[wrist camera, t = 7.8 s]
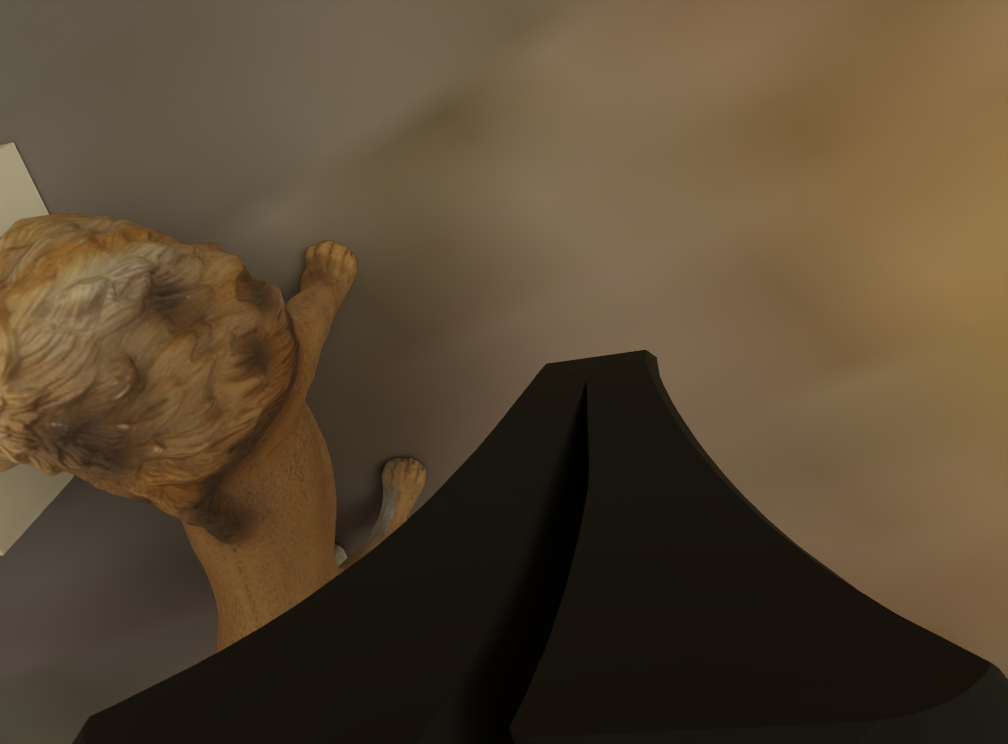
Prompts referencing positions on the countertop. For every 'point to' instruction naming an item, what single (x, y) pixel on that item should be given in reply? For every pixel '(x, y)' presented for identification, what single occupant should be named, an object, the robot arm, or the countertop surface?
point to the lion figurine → (184, 398)
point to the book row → (22, 489)
